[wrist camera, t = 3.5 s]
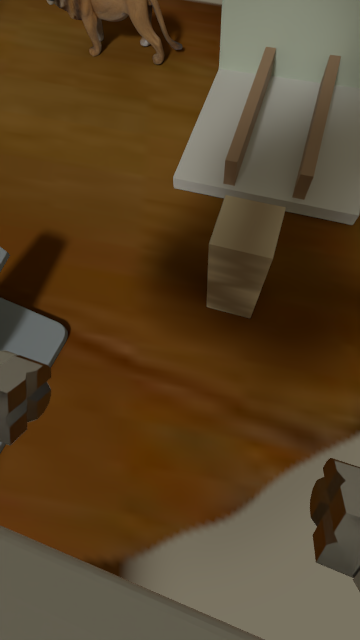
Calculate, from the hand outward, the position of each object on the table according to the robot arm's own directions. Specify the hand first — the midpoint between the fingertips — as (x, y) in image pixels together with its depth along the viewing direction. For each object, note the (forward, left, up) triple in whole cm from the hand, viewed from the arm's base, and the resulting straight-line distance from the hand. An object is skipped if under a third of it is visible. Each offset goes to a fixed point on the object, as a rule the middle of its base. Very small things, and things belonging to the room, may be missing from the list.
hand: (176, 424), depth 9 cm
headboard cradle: (0, +30, -14) cm, 33 cm away
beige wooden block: (0, +11, -14) cm, 18 cm away
